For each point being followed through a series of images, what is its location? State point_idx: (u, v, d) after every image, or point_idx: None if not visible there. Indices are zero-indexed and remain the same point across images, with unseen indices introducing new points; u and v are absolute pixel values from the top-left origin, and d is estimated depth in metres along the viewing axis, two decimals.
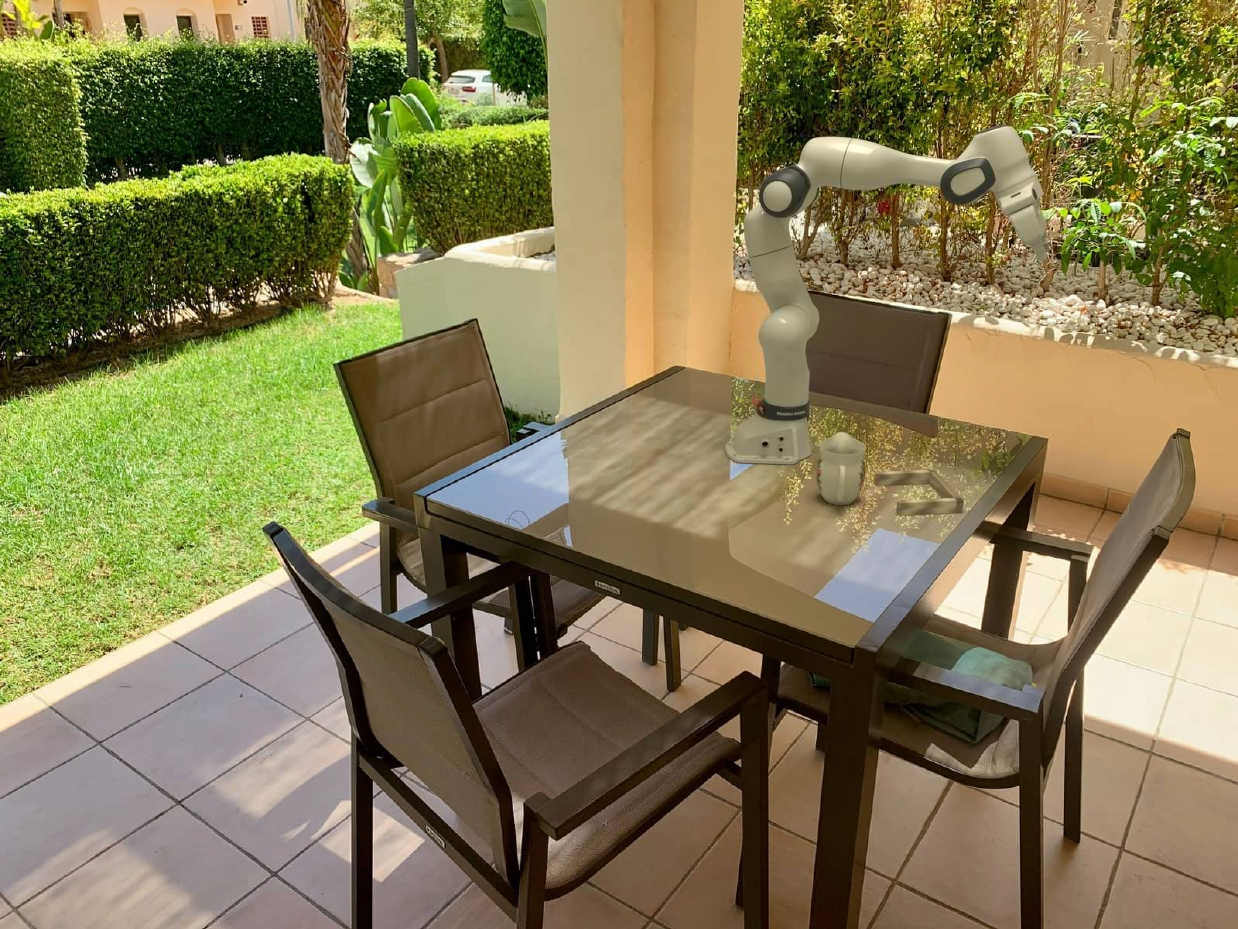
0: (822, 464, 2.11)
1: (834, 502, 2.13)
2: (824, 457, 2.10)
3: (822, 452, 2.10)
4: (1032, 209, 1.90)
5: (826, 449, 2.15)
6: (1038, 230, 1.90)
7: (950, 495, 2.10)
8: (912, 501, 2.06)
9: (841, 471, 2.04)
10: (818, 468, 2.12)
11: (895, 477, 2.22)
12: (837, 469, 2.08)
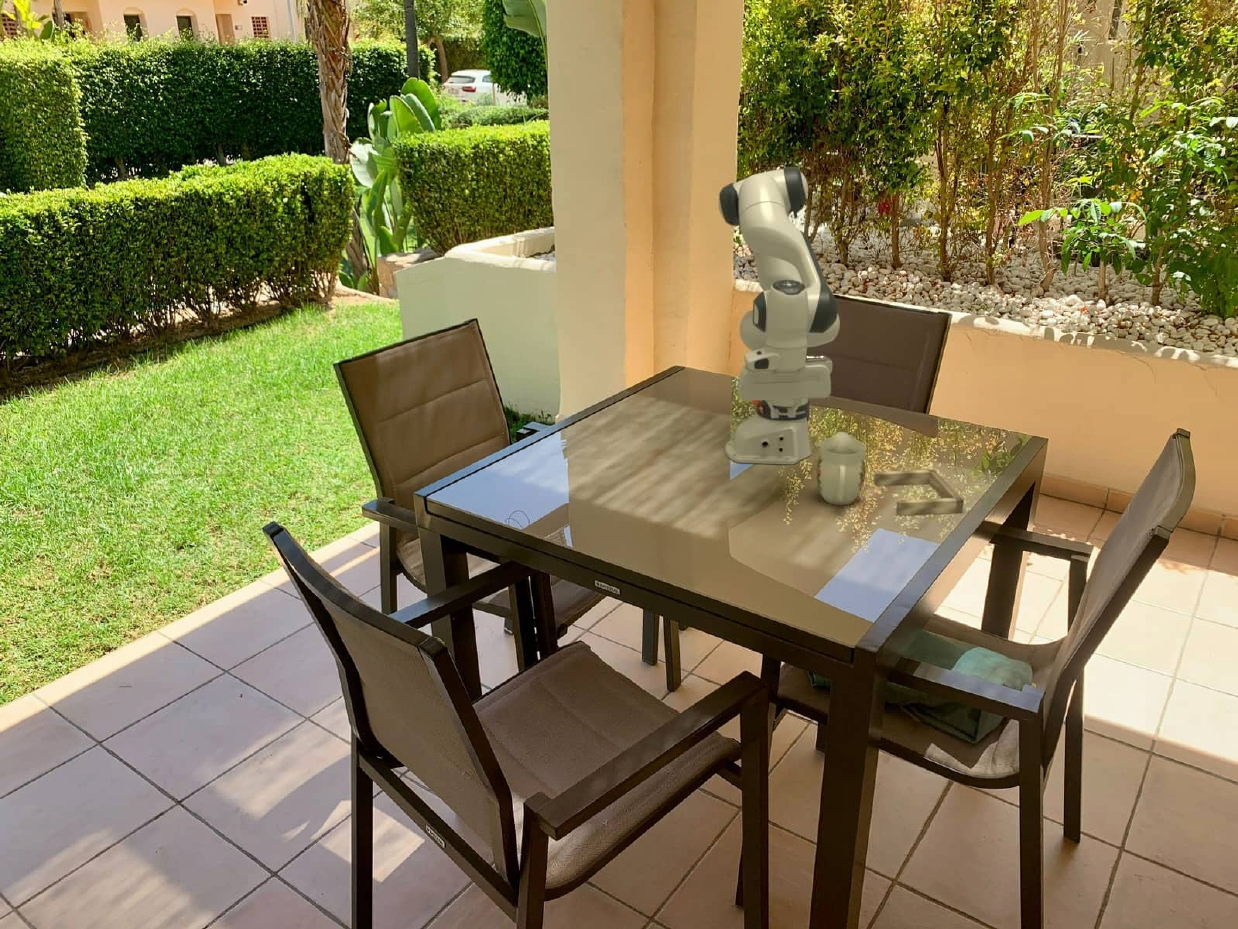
0: (822, 464, 2.11)
1: (834, 502, 2.13)
2: (824, 457, 2.10)
3: (822, 452, 2.10)
4: (745, 374, 2.00)
5: (826, 449, 2.15)
6: (741, 392, 2.02)
7: (950, 495, 2.10)
8: (912, 501, 2.06)
9: (841, 471, 2.04)
10: (818, 468, 2.12)
11: (895, 477, 2.22)
12: (837, 469, 2.08)
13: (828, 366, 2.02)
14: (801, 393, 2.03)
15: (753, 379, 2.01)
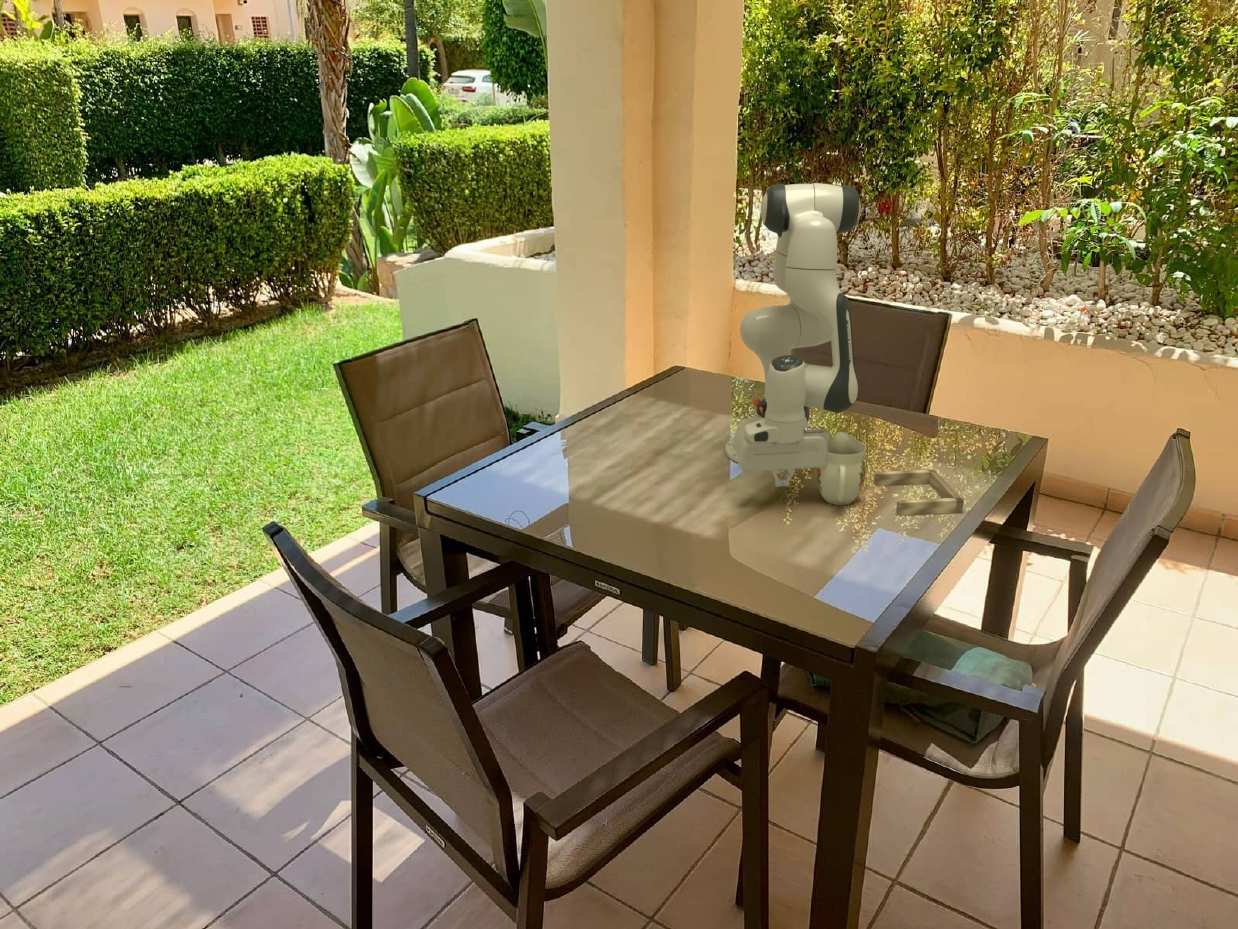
0: None
1: (834, 502, 2.13)
2: None
3: None
4: (745, 446, 2.06)
5: None
6: (741, 463, 2.08)
7: (950, 495, 2.10)
8: (912, 501, 2.06)
9: (841, 471, 2.04)
10: (818, 468, 2.12)
11: (895, 477, 2.22)
12: (837, 469, 2.08)
13: (825, 437, 2.08)
14: (799, 463, 2.09)
15: (753, 451, 2.07)
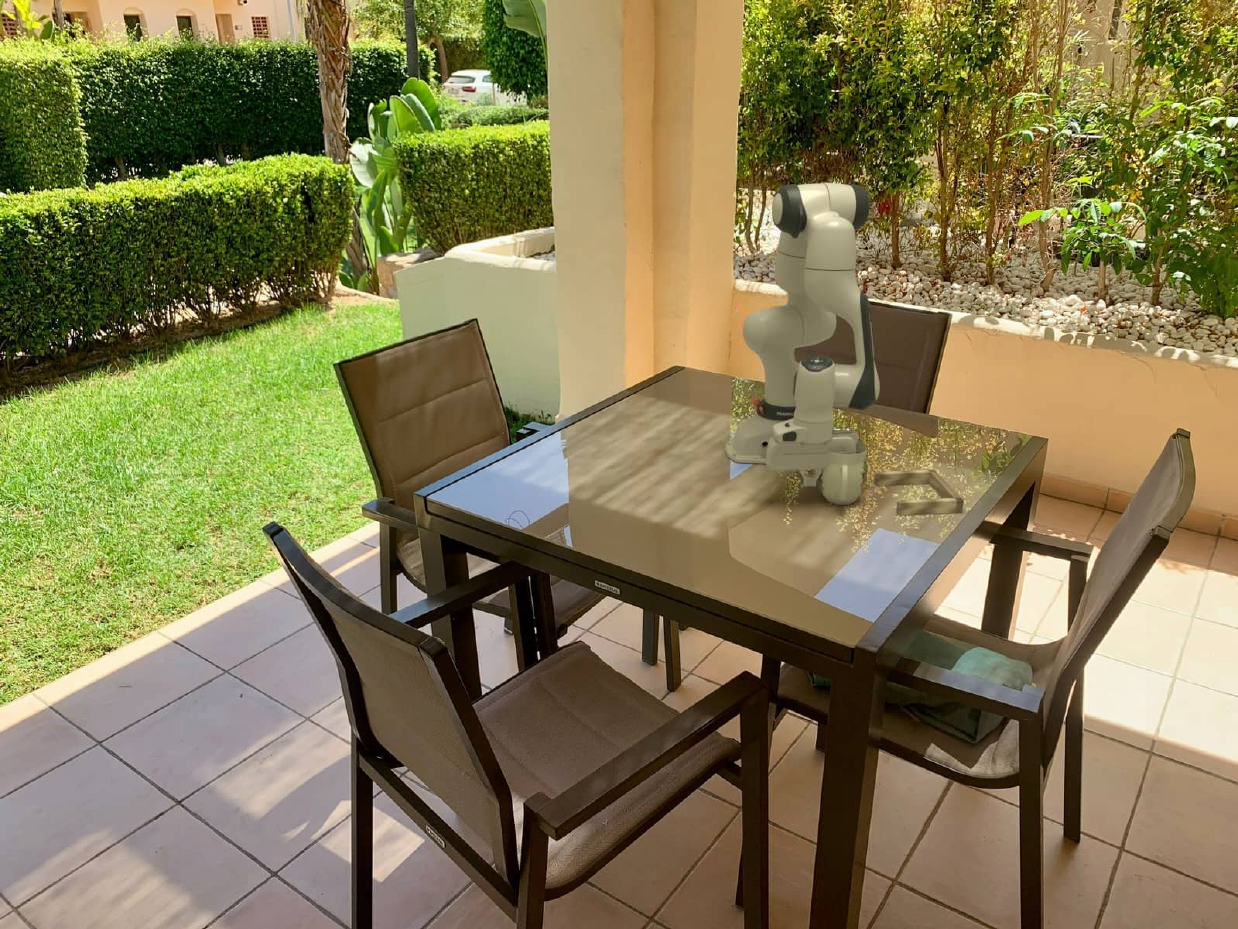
0: None
1: (836, 502, 2.13)
2: None
3: None
4: (773, 445, 2.07)
5: None
6: (769, 463, 2.09)
7: (950, 495, 2.10)
8: (912, 501, 2.06)
9: (843, 471, 2.04)
10: None
11: (895, 477, 2.22)
12: (839, 469, 2.08)
13: (854, 438, 2.09)
14: (827, 464, 2.09)
15: (781, 450, 2.08)
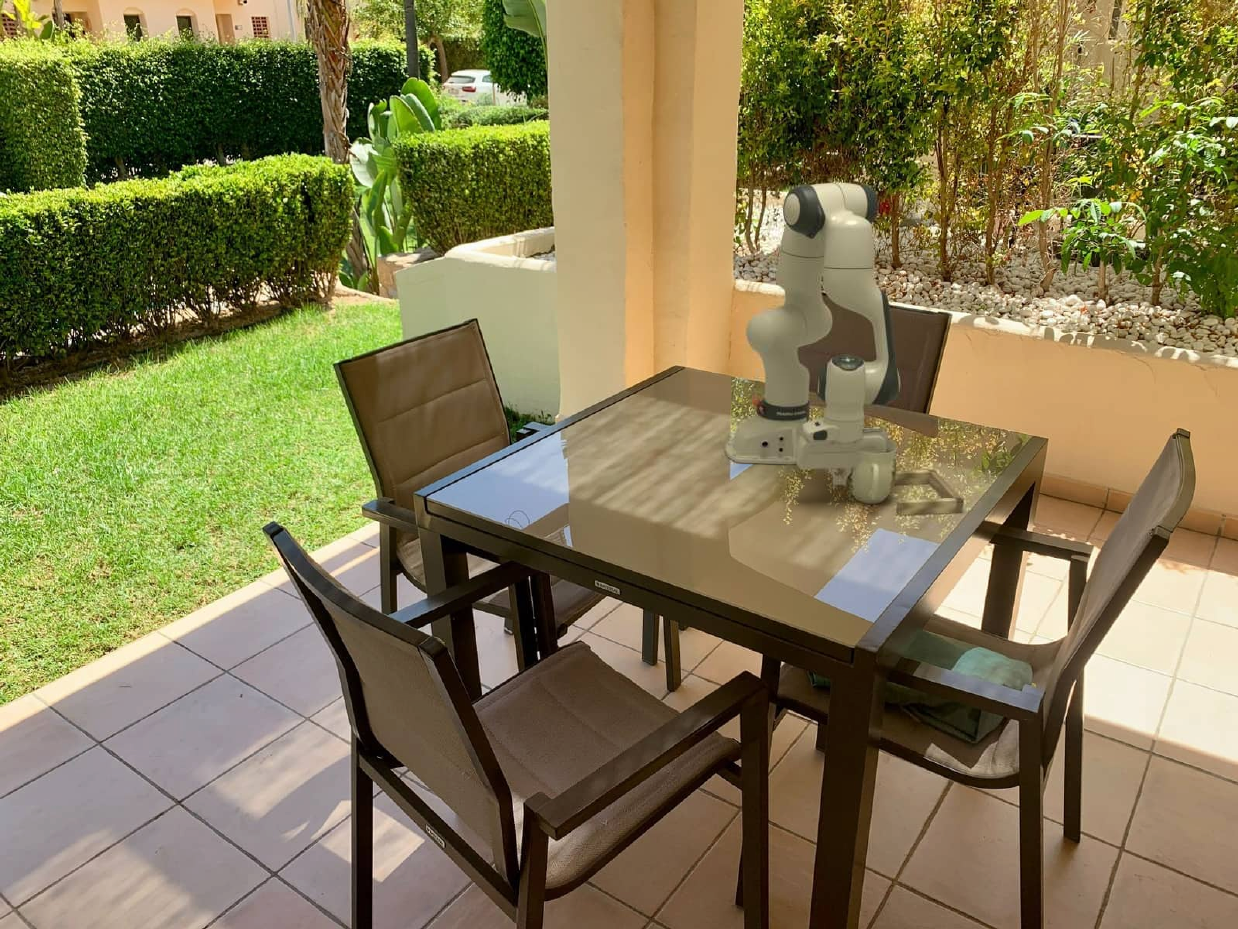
0: None
1: (865, 501, 2.13)
2: None
3: None
4: (804, 444, 2.07)
5: None
6: (799, 462, 2.09)
7: (950, 495, 2.10)
8: (912, 501, 2.06)
9: (874, 470, 2.04)
10: None
11: None
12: (869, 468, 2.08)
13: (884, 437, 2.09)
14: (857, 462, 2.09)
15: (811, 449, 2.08)
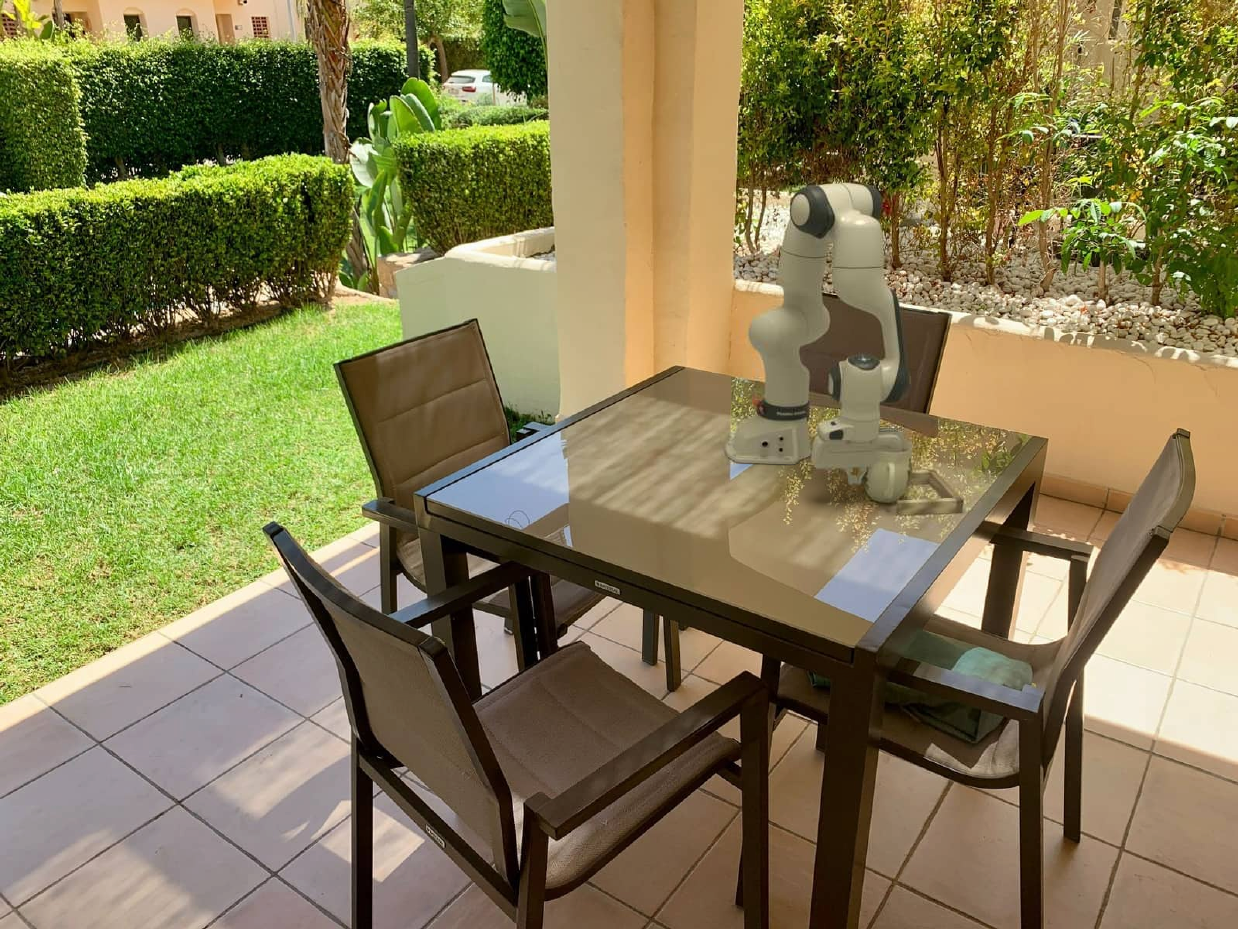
0: None
1: (881, 500, 2.13)
2: None
3: None
4: (820, 444, 2.07)
5: None
6: (815, 461, 2.09)
7: (950, 495, 2.10)
8: (912, 501, 2.06)
9: (891, 469, 2.04)
10: None
11: None
12: (885, 467, 2.08)
13: (899, 436, 2.09)
14: (873, 462, 2.10)
15: (827, 449, 2.08)
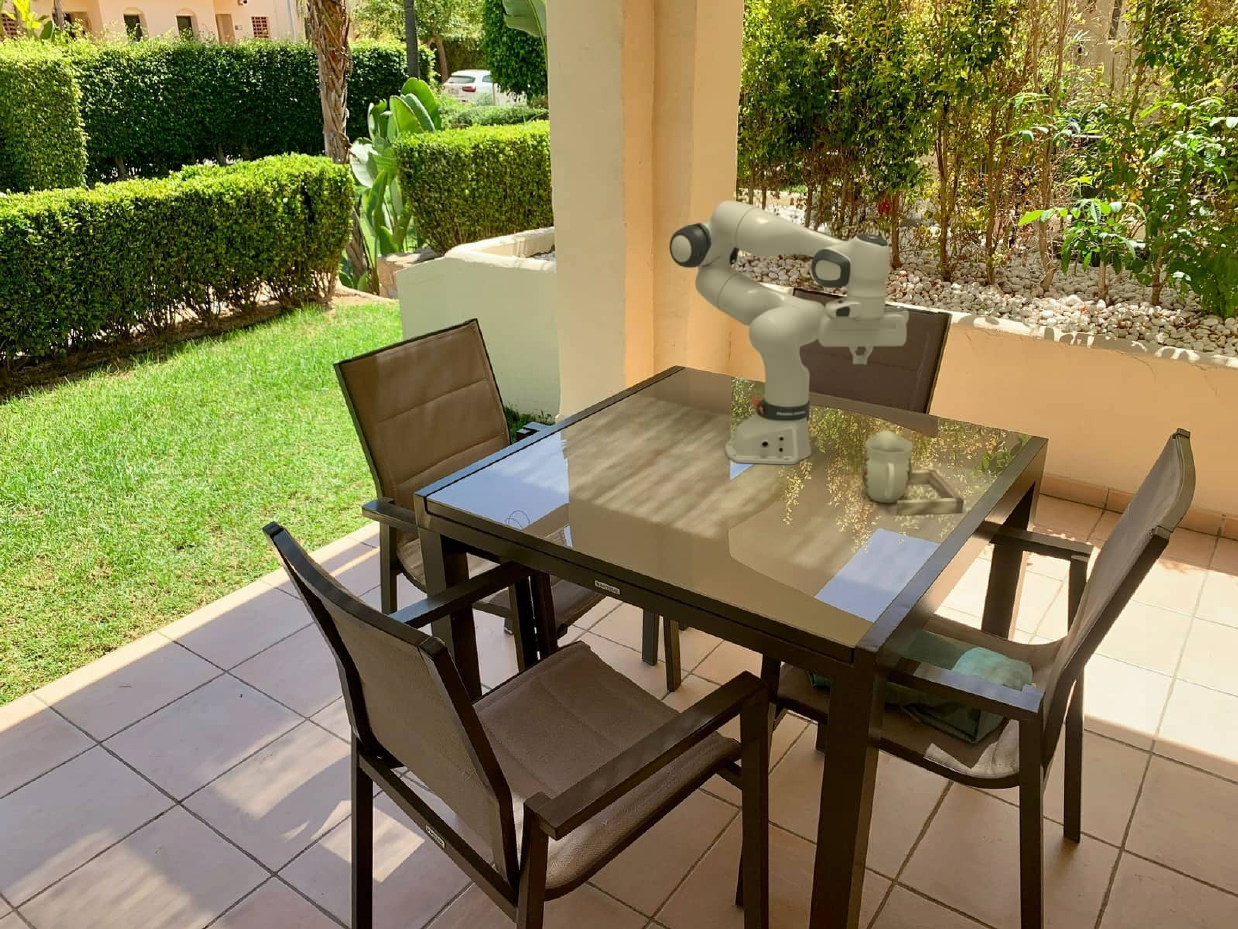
0: (868, 462, 2.11)
1: (881, 500, 2.13)
2: (871, 455, 2.10)
3: (869, 450, 2.10)
4: (827, 321, 2.14)
5: (871, 447, 2.16)
6: (821, 339, 2.16)
7: (950, 495, 2.10)
8: (912, 501, 2.06)
9: (890, 469, 2.04)
10: (864, 466, 2.12)
11: None
12: (885, 467, 2.08)
13: (905, 316, 2.16)
14: (878, 341, 2.17)
15: (834, 326, 2.15)
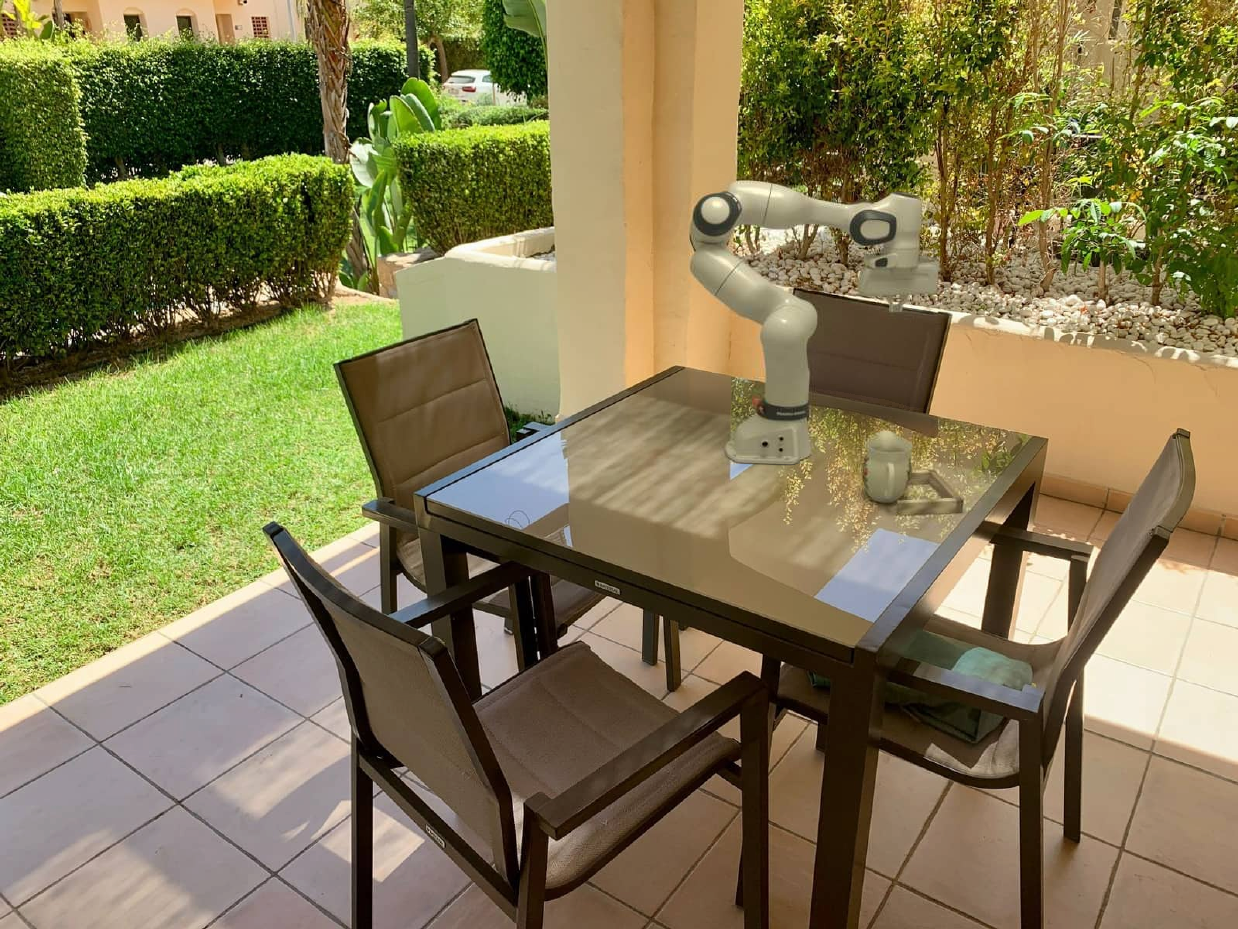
0: (868, 462, 2.11)
1: (881, 500, 2.13)
2: (871, 455, 2.10)
3: (869, 450, 2.10)
4: (866, 271, 2.35)
5: (871, 447, 2.16)
6: (861, 288, 2.37)
7: (950, 495, 2.10)
8: (912, 501, 2.06)
9: (890, 469, 2.04)
10: (864, 466, 2.12)
11: None
12: (885, 467, 2.08)
13: (936, 266, 2.37)
14: (913, 289, 2.38)
15: (873, 277, 2.36)
